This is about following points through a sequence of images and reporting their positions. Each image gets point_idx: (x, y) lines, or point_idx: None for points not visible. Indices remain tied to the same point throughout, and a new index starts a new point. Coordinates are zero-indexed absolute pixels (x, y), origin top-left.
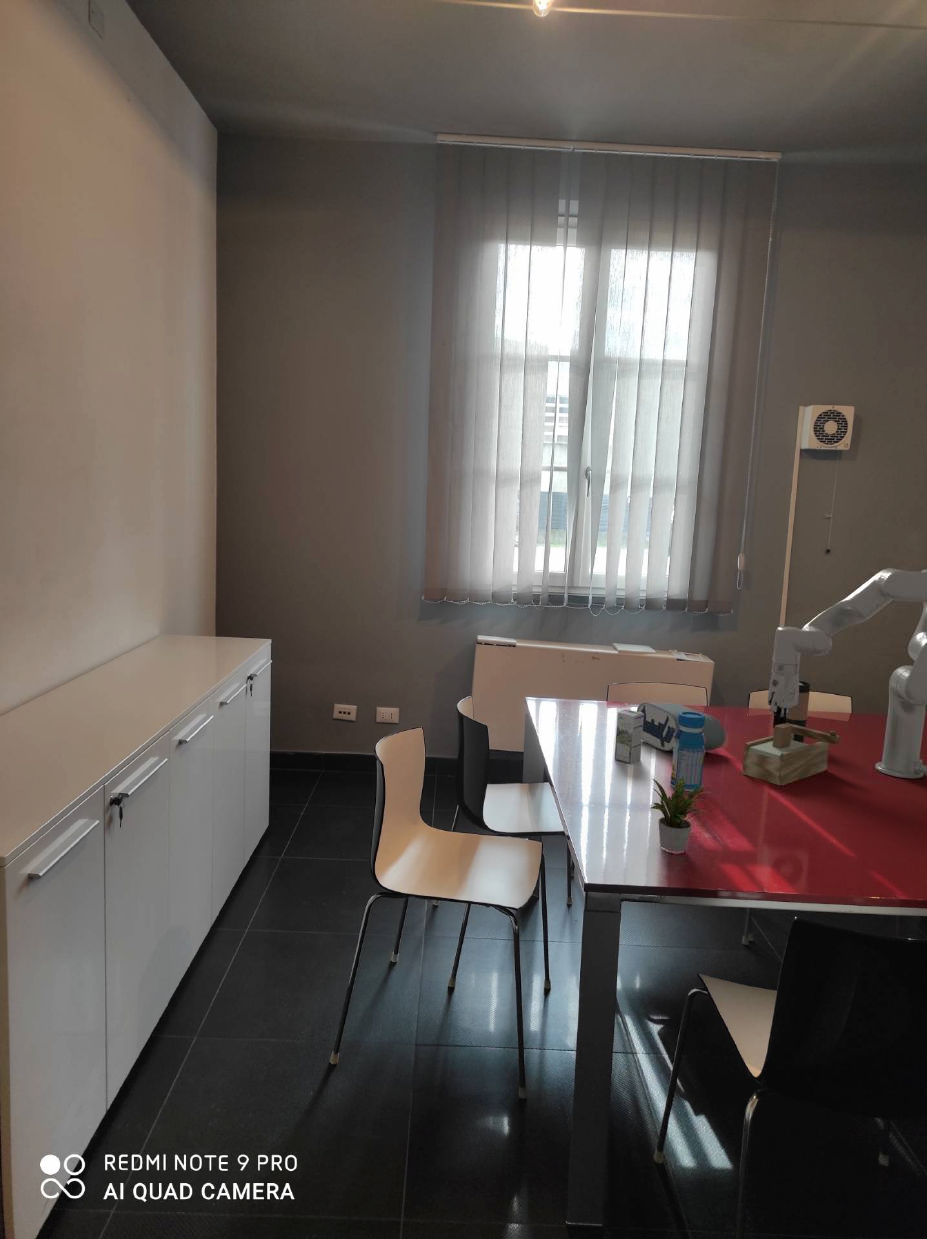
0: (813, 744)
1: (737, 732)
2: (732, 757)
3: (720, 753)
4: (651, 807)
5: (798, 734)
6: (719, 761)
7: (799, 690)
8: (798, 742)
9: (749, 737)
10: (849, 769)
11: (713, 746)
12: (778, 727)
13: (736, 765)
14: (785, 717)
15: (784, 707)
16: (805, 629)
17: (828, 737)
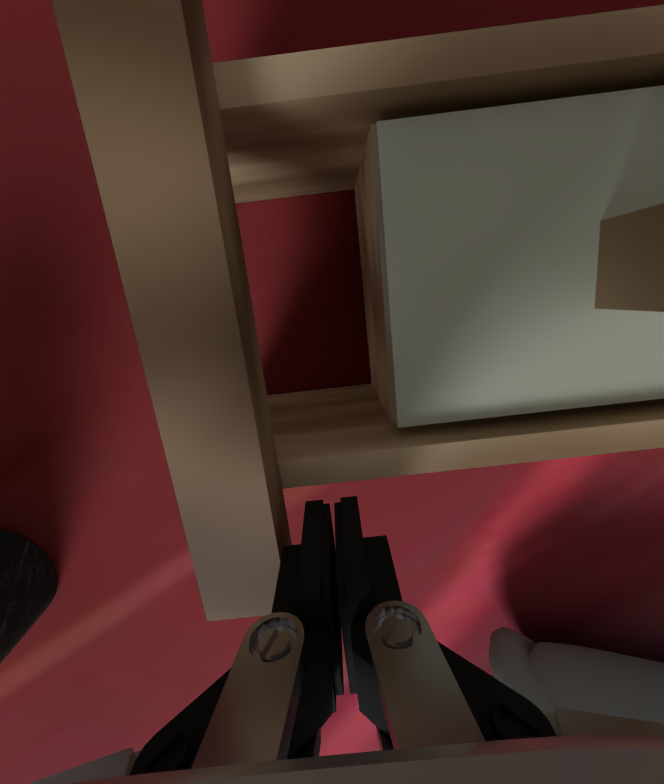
0: (439, 52)
1: (134, 752)
2: (485, 544)
3: (480, 600)
4: None
5: (263, 377)
6: (596, 530)
7: None
8: (409, 266)
9: (140, 694)
10: (46, 123)
11: (527, 643)
12: None
13: (584, 461)
14: (321, 592)
15: (642, 754)
16: None
17: None
